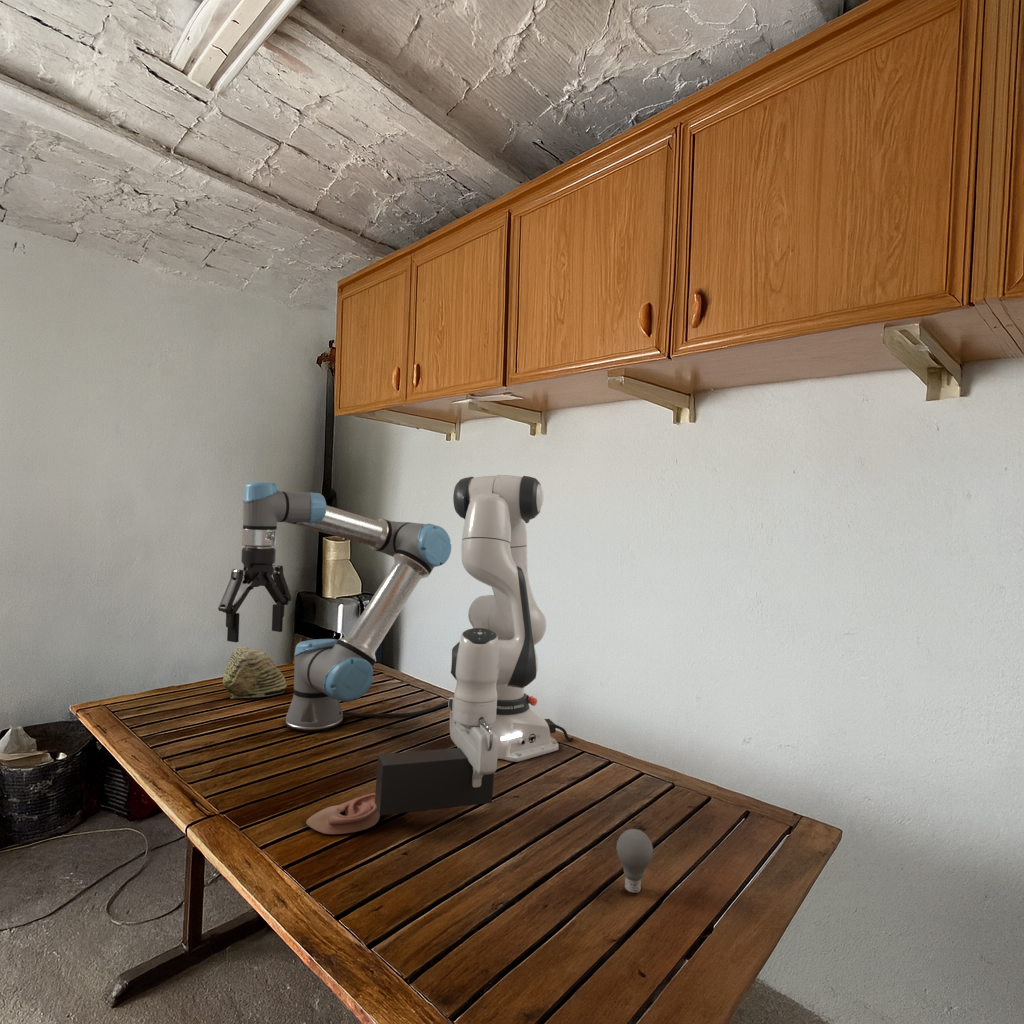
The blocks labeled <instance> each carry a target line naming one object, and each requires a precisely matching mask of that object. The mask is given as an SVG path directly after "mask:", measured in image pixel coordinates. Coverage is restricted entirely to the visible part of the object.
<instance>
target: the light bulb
mask: <svg viewBox="0 0 1024 1024" xmlns="http://www.w3.org/2000/svg"><path fill="white" fill-rule="evenodd" d="M615 849H616V854H617V857H618V859H619V861H620V863H621V865H622V867H623V873H624V874H623V875H624V876H625V878H624V888H625V890H627V891H628V892H630V893H634V894H635V893H639V892H640V891H641V889H642V887H641V886H642V879H643V877H644V875H645V871H646V868H647V867H648V866H649V864H650V863H651V861H652V859H653V855H654V847H653V843H652V841H651V838H649V836H648V835H647V834H646V833H645V832H643V831H642V830H641V829H636V828H629V829H627V830H625V831H623V832H622V833H621V834H620V835H619V837H618V839H617V841H616V847H615Z"/></svg>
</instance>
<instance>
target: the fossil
mask: <svg viewBox="0 0 1024 1024" xmlns="http://www.w3.org/2000/svg"><path fill="white" fill-rule="evenodd" d="M222 676H223V677H222V685H223V687H224V688H225V690H226V691H228V693H229V698H230V699H250V698H264V697H271V696H275V695H281V694H284V693H285V691H286V689H287V687H288V686H287V680H286V678H285V676H284V674H283V673H282V672H281V669H279V668H278V667H277V665H276V663H275V662H274V660H273V659H272V658H271V657H270V656H269V655H268V654H267V653H266V652H265V650H264V649H263V648H260V647H258V648H251V647H247V646H246V647H245V646H238V647H237V648H236V649H235V650H233V651H232V653H231V656H230V657H229V659H228V660H227V663H226V666H225V668H224V671H223V675H222Z"/></svg>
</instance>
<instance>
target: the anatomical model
mask: <svg viewBox="0 0 1024 1024" xmlns="http://www.w3.org/2000/svg"><path fill="white" fill-rule="evenodd" d="M380 818H381V816H380V815H379V812H378V810H377V807H376V804H375V792H373V793H368V794H364V795H362V796H358V797H356V798H353V799H351V800H348V801H346V802H343V803H340V804H338V805H332V806H328V807H325V808H323V809H321V810H319V811H317V812H315V813H313V814H312V815H311V816H310V817H308V818H307V819H306V821H305V824H306V825H307V826H308V827H309V828H311V829H312V830H314V831H316V832H319V833H321V834H323V835H343V834H351V833H356V832H362V831H365V830H367V829H369V828H370V829H371V828H372V827H374V826H375V825H376V824H377V823H379V821H380Z"/></svg>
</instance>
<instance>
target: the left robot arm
mask: <svg viewBox="0 0 1024 1024" xmlns="http://www.w3.org/2000/svg"><path fill="white" fill-rule="evenodd" d="M242 504H243V507H242V534H241V535H242V536H241V545H242V546H244V547H242V549H241V563H242V565H243V568H242V569H237V568H232V569H231V572H230V579H229V582H228V584H227V586H226V588H225V591H224V593H223V595H222V598H221V601H220V602H219V605H218V608H217V609H218V611H219V612H222V613H225V626H226V628H227V630H226V632H227V633H226V642H231V643H239V639H240V638H239V637H240V635H239V634H240V614H241V613H240V612H238V610H239V609H240V608H241V606H242V604H243V603H244V602H245V600H246V598H247V597H248V595H249V593H250V592H251V591H252V590H253V589H254V588H260V587H264V588H265V590H266V591H267V592H268V594H269V595H270V597H271V599H272V600H273V601H274V602H275V604H272V611H271V614H272V615H271V631H272V632H278V633H282V632H283V627H284V626H283V625H284V623H283V622H284V617H285V606H288V605H289V603H290V602H291V601H292V595H291V593H290V592H291V591H290V589H289V586H288V584H287V581H286V578H285V575H284V566H283V565H280V564H279V565H278V564H276V558H277V557H276V555H277V549H276V548H275V546H276V545H277V529H278V523H287V524H290V525H294V526H298V527H302V528H306V529H310V530H312V531H316V532H319V533H323V534H328V535H332V536H335V537H337V538H343V539H346V540H349V541H353V542H357V543H360V544H363V545H368V546H369V548H370V549H371V550H373V551H376V552H379V553H383V554H384V555H388V556H390V557H391V558H392V557H393V560H394V564H393V565H392V567H391V568H390V570H389V571H388V573H387V575H386V576H385V577H384V580H383V581H381V583H380V585H379V587H378V588H377V590H376V591H375V593H374V594H373V596H372V597H371V599H370V600H369V602H368V604H367V605H366V607H365V608H364V610H363V611H362V613H361V615H360V616H359V618H358V619H357V621H356V622H355V624H354V625H353V627H352V628H351V630H350V631H349V632H348V635H346V636H344V637H343V636H342V637H340V638H338V639H336V638H319V639H308V640H303V641H300V642H297V644H296V645H295V650H294V655H293V657H294V672H293V695H292V696H293V697H292V699H291V702H290V704H289V707H288V709H287V713H286V715H285V726H286V728H287V729H289V730H291V731H294V732H295V731H296V732H301V733H316V732H325V731H329V730H332V729H335V728H337V727H339V726H340V725H342V723H343V722H344V716H349V717H356V718H392V717H393V718H399V717H400V718H402V717H404V718H405V717H412V716H418V715H423V714H426V713H429V712H433V711H436V710H438V709H441V708H443V707H445V706H448V701H446V702H442V703H440V704H437V705H435V706H431V707H429V708H426V709H421V710H417V711H411V712H401V713H396V712H394V713H390V712H389V713H358V712H352V711H343V709H342V706H341V702H343V703H350V702H353V701H357V700H359V699H360V698H361V697H363V696H364V695H365V694H366V693H367V692H368V691H369V690H370V688H371V686H372V684H373V681H374V675H373V674H374V669H373V667H374V665H375V664H376V662H377V657H376V653H377V650H378V648H379V647H380V645H381V643H382V642H383V640H384V639H385V637H386V635H387V634H388V632H389V631H390V630H391V627H392V626H393V624H394V623H395V621H396V619H397V618H398V616H399V615H400V613H401V612H402V610H403V608H404V606H405V605H406V603H407V602H408V600H409V598H410V597H411V595H412V593H413V592H414V591H415V589H416V587H417V585H418V584H419V583H420V581H421V579H425V578H429V576H430V575H431V573H432V572H433V570H434V568H436V567H440V566H443V565H444V564H446V563H447V561H448V560H449V558H450V556H451V552H452V544H451V538H450V537H451V536H450V534H449V533H448V532H447V531H446V529H444V528H443V527H442V526H439V525H436V524H433V523H418V522H411V521H409V522H408V521H394V520H388V519H384V518H378V519H373V518H370V517H367V516H364V515H359V514H357V513H353V512H350V511H348V510H343V509H341V508H337V507H334V506H330V505H328V504H327V501H326V498H325V496H324V495H323V494H321V493H320V492H312V491H309V492H307V491H284V490H283V491H282V490H279V484H278V483H277V482H264V481H262V482H261V481H248V482H246V483H245V486H244V490H243V499H242Z"/></svg>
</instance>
